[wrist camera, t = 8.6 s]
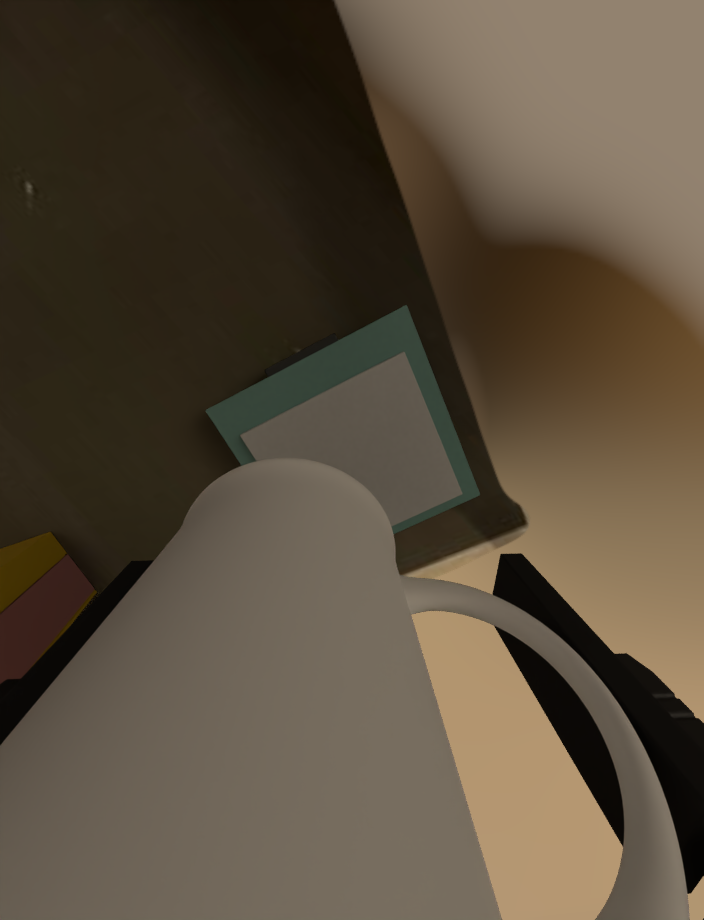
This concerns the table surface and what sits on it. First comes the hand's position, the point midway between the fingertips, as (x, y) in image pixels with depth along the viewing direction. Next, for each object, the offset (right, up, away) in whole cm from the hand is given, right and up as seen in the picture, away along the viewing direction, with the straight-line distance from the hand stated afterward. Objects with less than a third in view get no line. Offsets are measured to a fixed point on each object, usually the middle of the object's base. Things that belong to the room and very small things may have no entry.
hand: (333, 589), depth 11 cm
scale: (+1, +6, +18) cm, 19 cm away
